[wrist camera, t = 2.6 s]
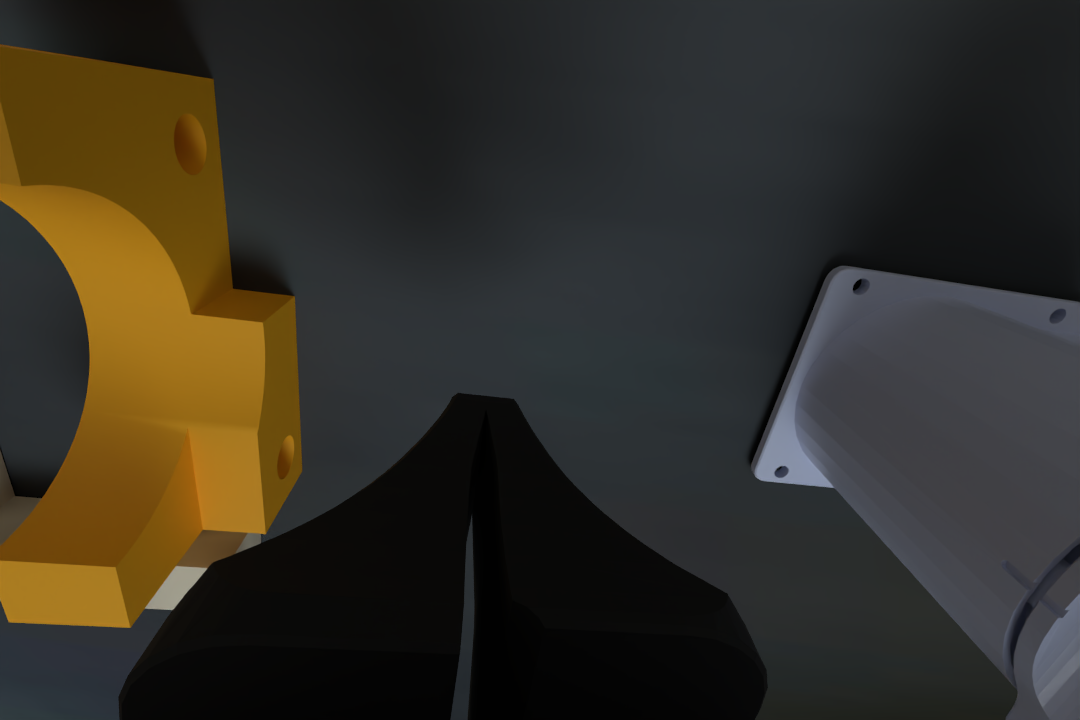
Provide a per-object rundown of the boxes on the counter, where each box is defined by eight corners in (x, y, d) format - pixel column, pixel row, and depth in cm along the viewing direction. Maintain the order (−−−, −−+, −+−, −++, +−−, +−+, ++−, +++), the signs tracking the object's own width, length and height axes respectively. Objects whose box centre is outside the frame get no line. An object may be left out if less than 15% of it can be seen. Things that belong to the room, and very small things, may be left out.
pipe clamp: (304, 467, 18) (209, 631, 12) (172, 456, 18) (9, 621, 12) (288, 91, 13) (120, 67, 8) (106, 60, 13) (-227, 8, 7)
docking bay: (208, -116, 11) (134, -175, 9) (262, 556, 19) (230, 613, 17) (-328, -233, 10) (-567, -335, 8) (-33, 536, 18) (-110, 594, 16)
